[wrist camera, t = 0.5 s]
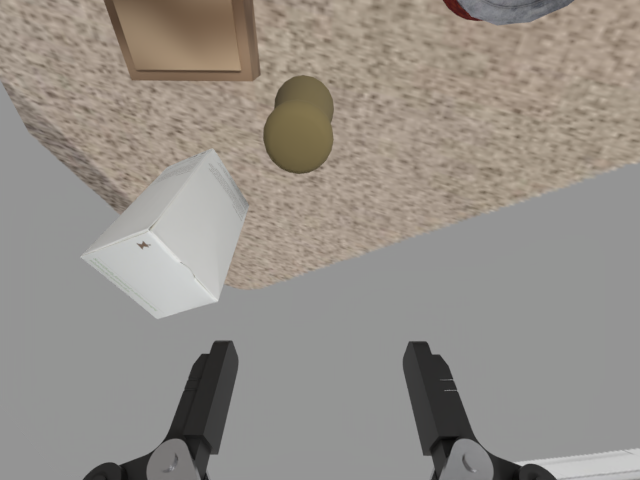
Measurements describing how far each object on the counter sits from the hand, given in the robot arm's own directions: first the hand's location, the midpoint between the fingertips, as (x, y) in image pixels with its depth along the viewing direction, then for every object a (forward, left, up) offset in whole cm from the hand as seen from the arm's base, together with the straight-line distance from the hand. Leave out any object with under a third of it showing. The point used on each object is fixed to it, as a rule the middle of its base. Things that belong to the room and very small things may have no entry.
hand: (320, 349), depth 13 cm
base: (-13, -11, -23) cm, 29 cm away
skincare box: (+3, -13, -23) cm, 27 cm away
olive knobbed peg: (-5, -2, -23) cm, 24 cm away
